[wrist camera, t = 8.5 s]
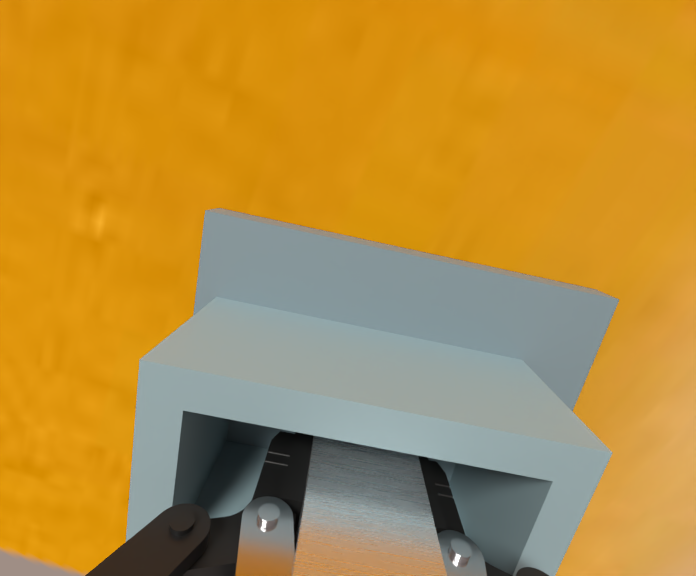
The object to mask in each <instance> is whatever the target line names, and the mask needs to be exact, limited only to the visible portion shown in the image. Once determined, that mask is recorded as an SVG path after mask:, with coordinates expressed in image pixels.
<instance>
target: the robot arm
mask: <svg viewBox="0 0 696 576" xmlns="http://www.w3.org/2000/svg"><path fill="white" fill-rule="evenodd" d="M313 437H314V435H308V434H303V433H298V432H295V434H293V433H287V432H282V431H280V432H279V433H278V434H277V435H276V436H275V437H274V438H273V439H272V440H271V442H270V446H269V449H268V452H267V455H266V458H265V462H264V464H263V467H262V470H261V473H260V477H259V480H258V483H257V486H256V489H255V492H254V495H253V498H252V500H251V502H250V503H249V504H248V505H247V506H246V507H245V508H244V509H243V510H242V511H240V512H238V513H236V514H234V515H231V516H226V517H218V518H210V516H209V514H208V512H207V511H206V510H205V509H204V508H202V507H200V506H198V505H195V504H190V503H184V504H178V505H175V506H172V507H170V508H168V509H166V510H165V511H163V512H162V513H161V514H159V515H158V516H157V517H156V518H155V519H153V520H152V521H151V522H150V523H148V524H147V525H146V526H145V527H144V528H142V529H141V530H140V531H139V532H138V533H136V534H135V535H134V536H133V537H132V538H130V539H129V540H128V541H127V542H126V543H124V544H123V545H122V546H121V547H119V548H118V549H117V550H116V551H115V552H113V553H112V554H111V555H110V556H109V557H107V558H106V559H105V560H104V561H103V562H101V563H100V564H99V565H98V566H96V567H95V568H94V569H93V570H92V571H90V572H89V573H88V574H87V575H86V576H292V570H293V564H294V557H295V548H294V540H295V536H296V531H297V527H298V522H299V518H300V514H301V509H302V505H303V500H304V493H305V487H306V481H307V474H308V468H309V462H310V456H311V449H312V443H313ZM418 457H419V461H420V465H421V470H422V474H423V478H424V482H425V486H426V490H427V495H428V499H429V503H430V507H431V511H432V516H433V520H434V524H435V528H436V532H437V536H438V541H439V545H440V549H441V553H442V557H443V562H444V566H445V570H446V574H447V576H512V575H510V574H508V573H506V572H504V571H502V570H500V569H498V568H496V567H494V566H492V565H490V564H489V563H487V562H486V561H484V557H483V554H482V552H481V551H480V549H479V548H478V546H477V545H476V544H475V543H474V542H473V541H472V540H471V539H470V538H469V537H467V536H466V535H465V532H464V529H463V526H462V523H461V520H460V516H459V513H458V510H457V507H456V504H455V501H454V499H453V495H452V491H451V488H450V485H449V482H448V479H447V476H446V473H445V472H444V470H443V469H442V468H441V467H440V465H439V464H438V463H437V462H436V461H431V460H428V457H423V456H418ZM516 576H549V575H548V574H546V573H544V572H543V571H541V570H539V569H536V568H532V567H523V568H521V569H519V570H518V572H517V574H516Z"/></svg>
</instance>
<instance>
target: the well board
mask: <svg viewBox="0 0 696 576" xmlns="http://www.w3.org/2000/svg"><path fill="white" fill-rule="evenodd" d="M618 302H619V299H616V298H614V297H612V296H609V295H607V294H605V293H602V292H600V291H598V290H595V289H591V288H586V287H582V286H577V285H573V284H568V283H563V282H559V281H554V280H549V279H545V278H540V277H536V276H531V275H526V274H522V273H517V272H512V271H508V270H503V269H499V268H494V267H489V266H485V265H480V264H475V263H471V262H466V261H462V260H457V259H452V258H448V257H443V256H438V255H434V254H429V253H425V252H420V251H415V250H411V249H406V248H401V247H397V246H392V245H388V244H383V243H378V242H374V241H369V240H364V239H360V238H355V237H351V236H346V235H341V234H337V233H332V232H327V231H323V230H318V229H314V228H309V227H304V226H300V225H295V224H290V223H286V222H281V221H277V220H272V219H267V218H263V217H258V216H253V215H249V214H244V213H240V212H235V211H230V210H226V209H221V208H217V209H211V210H205V218H204V227H203V236H202V244H201V253H200V262H199V271H198V280H197V289H196V297H195V306H194V315H193V317H191V318H190V319H189V320H188V321H186V322H185V323H184V324H183V325H181V326H180V327H179V328H178V329H177V330H175V331H174V332H173V333H172V334H170V335H169V336H168V337H167V338H166V339H164V340H163V341H162V342H161V343H159V344H158V345H157V346H156V347H155V348H153V349H152V350H151V351H150V352H148V353H147V354H146V355H145V356H144V357H142V358H141V359H140V362H139V375H138V388H137V401H136V415H135V428H134V441H133V454H132V467H131V480H130V494H129V507H128V520H127V533H126V542H127V541H128V540H129V539H130V538H132V537H133V536H134V535H135V534H136V533H138V532H139V531H140V530H141V529H142V528H144V527H145V526H146V525H147V524H148V523H150V522H151V521H152V520H153V519H155V518H156V517H157V516H158V515H159V514H161V513H162V512H163V511H165V510H166V509H168V508H170V507H172V506H175V505H178V504H184V503H190V504H195V505H198V506H200V507H202V508H204V509H205V510H206V511H207V512H208V514H209V516H210V518H218V517H226V516H231V515H234V514H236V513H238V512H240V511H242V510H243V509H244V508H245V507H246V506H247V505H248V504H249V503H250V502H251V500H252V498H253V495H254V492H255V489H256V486H257V483H258V480H259V477H260V473H261V470H262V467H263V464H264V462H265V458H266V455H267V452H268V449H269V446H270V442H271V440H272V439H273V438H274V437H275V436H276V435H277V434H278V433H279V432H280V431H282V432H287V433H293V434H295V432H298V433H303V434H308V435H314V436H319V437H324V438H329V439H334V440H340V441H345V442H350V443H355V444H360V445H366V446H371V447H376V448H381V449H386V450H392V451H397V452H402V453H407V454H412V455H418V456H423V457H428V460H431V461H436V462H437V463H438V464H439V465H440V467H441V468H442V469H443V470H444V472H445V473H446V476H447V479H448V482H449V485H450V488H451V491H452V495H453V499H454V501H455V504H456V507H457V510H458V513H459V516H460V520H461V523H462V526H463V529H464V532H465V535H466V536H467V537H469V538H470V539H471V540H472V541H473V542H474V543H475V544H476V545H477V546H478V548H479V549H480V551H481V552H482V554H483V557H484V561H486V562H487V563H489V564H490V565H492V566H494V567H496V568H498V569H500V570H502V571H504V572H506V573H508V574H510V575H512V576H516V574H517V572H518V570H519V569H521V568H523V567H532V568H536V569H539V570H541V571H543V572H544V573H546V574H548V575H549V576H555V575H556V572H557V570H558V568H559V566H560V564H561V562H562V560H563V557H564V555H565V553H566V551H567V549H568V547H569V545H570V542H571V540H572V538H573V536H574V534H575V532H576V530H577V528H578V525H579V523H580V521H581V519H582V517H583V515H584V513H585V510H586V508H587V506H588V504H589V502H590V500H591V498H592V496H593V493H594V491H595V489H596V487H597V485H598V483H599V481H600V478H601V476H602V474H603V472H604V470H605V468H606V466H607V464H608V461H609V459H610V457H611V455H612V452H611V451H610V450H609V449H608V448H607V447H606V446H605V445H604V444H603V443H602V441H601V440H600V439H599V438H598V437H597V436H596V435H595V434H594V433H593V432H592V431H591V430H590V429H589V428H588V427H587V426H586V425H585V424H584V423H583V422H582V421H581V420H580V419H579V418H578V417H577V416H576V415H575V414H574V413H573V412H572V411H573V408H574V406H575V404H576V401H577V399H578V397H579V394H580V392H581V389H582V387H583V385H584V382H585V380H586V378H587V375H588V373H589V370H590V368H591V366H592V363H593V361H594V359H595V356H596V354H597V351H598V349H599V347H600V344H601V342H602V340H603V337H604V335H605V333H606V330H607V328H608V325H609V323H610V321H611V318H612V316H613V314H614V311H615V309H616V306H617V304H618Z"/></svg>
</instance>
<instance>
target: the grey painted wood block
mask: <svg viewBox="0 0 696 576" xmlns="http://www.w3.org/2000/svg"><path fill="white" fill-rule="evenodd" d="M294 548H295V557H294V564H293V570H292V576H447V574H446V570H445V566H444V562H443V557H442V553H441V549H440V545H439V541H438V536H437V532H436V528H435V524H434V520H433V516H432V511H431V507H430V503H429V499H428V495H427V490H426V486H425V482H424V478H423V474H422V470H421V465H420V461H419V457H418V455H412V454H407V453H402V452H397V451H392V450H386V449H381V448H376V447H371V446H366V445H360V444H355V443H350V442H345V441H340V440H334V439H329V438H324V437H319V436H314V437H313V443H312V449H311V456H310V462H309V468H308V474H307V481H306V487H305V493H304V500H303V505H302V509H301V514H300V518H299V522H298V527H297V531H296V536H295V540H294Z"/></svg>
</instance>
